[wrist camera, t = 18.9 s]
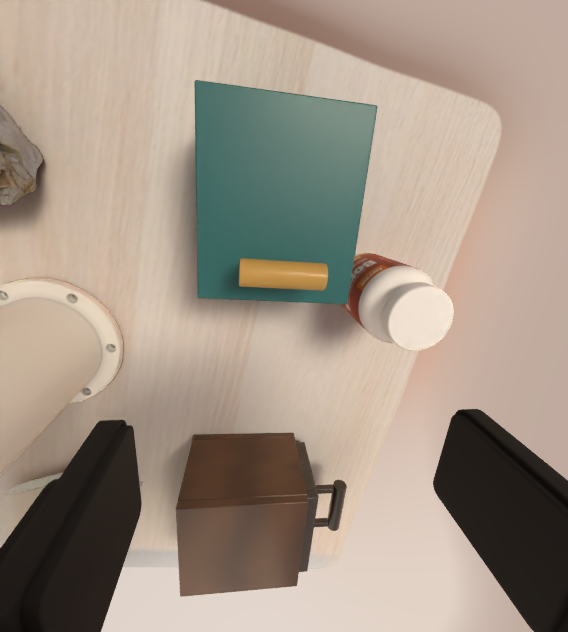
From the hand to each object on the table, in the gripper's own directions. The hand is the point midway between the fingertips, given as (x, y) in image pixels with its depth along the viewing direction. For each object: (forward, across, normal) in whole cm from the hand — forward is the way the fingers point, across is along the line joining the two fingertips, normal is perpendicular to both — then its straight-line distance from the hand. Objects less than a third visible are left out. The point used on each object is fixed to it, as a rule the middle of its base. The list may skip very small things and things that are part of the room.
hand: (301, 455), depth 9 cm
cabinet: (+22, +1, +23) cm, 32 cm away
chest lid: (+14, -1, -7) cm, 16 cm away
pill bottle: (+22, -10, -1) cm, 24 cm away
